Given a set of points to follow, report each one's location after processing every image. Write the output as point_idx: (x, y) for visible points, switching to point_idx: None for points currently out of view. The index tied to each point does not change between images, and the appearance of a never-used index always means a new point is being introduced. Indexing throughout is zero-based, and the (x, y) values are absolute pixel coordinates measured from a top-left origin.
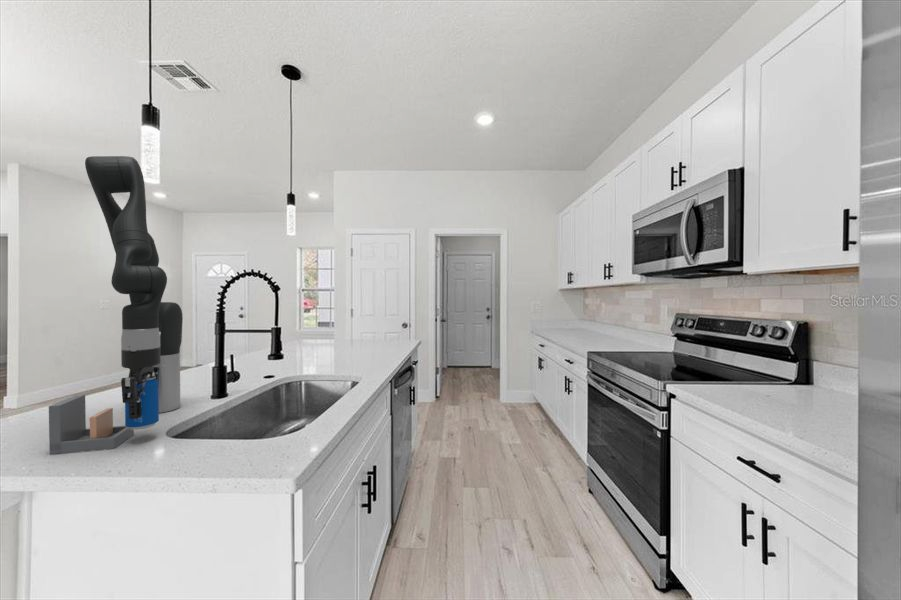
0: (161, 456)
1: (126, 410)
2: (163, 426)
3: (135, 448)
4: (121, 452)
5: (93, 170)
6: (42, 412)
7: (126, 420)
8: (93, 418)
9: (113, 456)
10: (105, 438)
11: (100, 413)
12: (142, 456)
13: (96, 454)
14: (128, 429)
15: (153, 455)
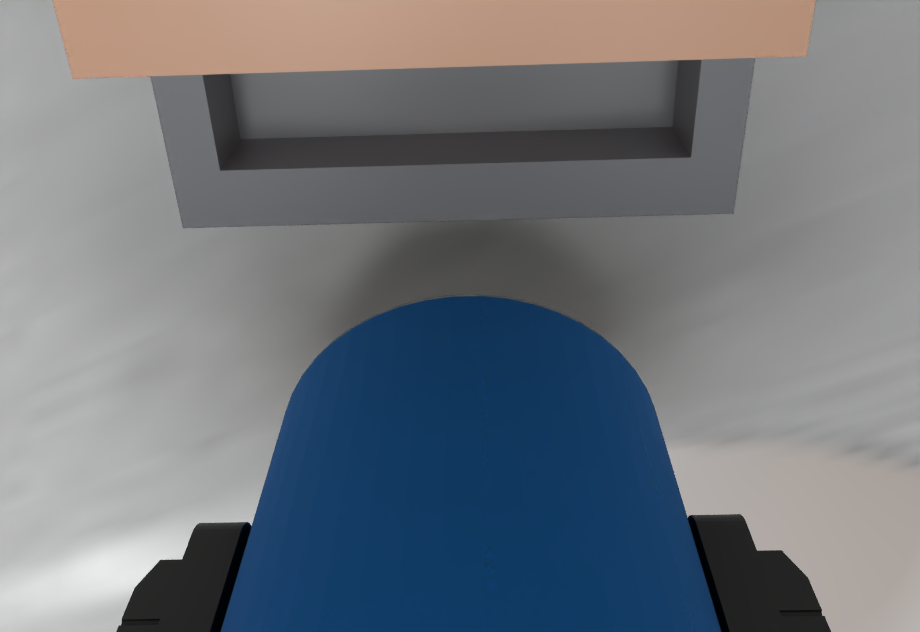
0: (12, 612)
1: (274, 532)
2: (901, 357)
3: (210, 369)
4: (110, 294)
5: None
6: None
7: (309, 407)
8: (74, 18)
9: (6, 272)
10: (180, 124)
11: (350, 21)
12: (10, 497)
13: (61, 63)
14: (572, 211)
15: (32, 559)
